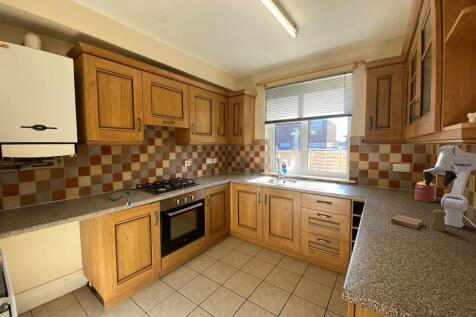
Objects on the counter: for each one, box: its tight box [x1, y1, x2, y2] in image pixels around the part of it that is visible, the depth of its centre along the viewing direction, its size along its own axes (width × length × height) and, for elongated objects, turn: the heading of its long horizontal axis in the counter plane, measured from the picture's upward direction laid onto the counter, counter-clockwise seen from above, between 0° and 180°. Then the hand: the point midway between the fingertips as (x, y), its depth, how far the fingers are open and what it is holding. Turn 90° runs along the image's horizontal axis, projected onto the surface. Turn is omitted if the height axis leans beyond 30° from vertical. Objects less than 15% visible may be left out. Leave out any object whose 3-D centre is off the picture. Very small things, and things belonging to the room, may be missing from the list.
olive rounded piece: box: [430, 209, 447, 232], centre depth 112 cm, size 6×6×11 cm
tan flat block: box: [390, 214, 424, 230], centre depth 121 cm, size 12×12×2 cm
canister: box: [413, 179, 437, 203], centre depth 169 cm, size 13×13×18 cm
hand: (435, 185), depth 104 cm, fingers open, 7 cm apart
